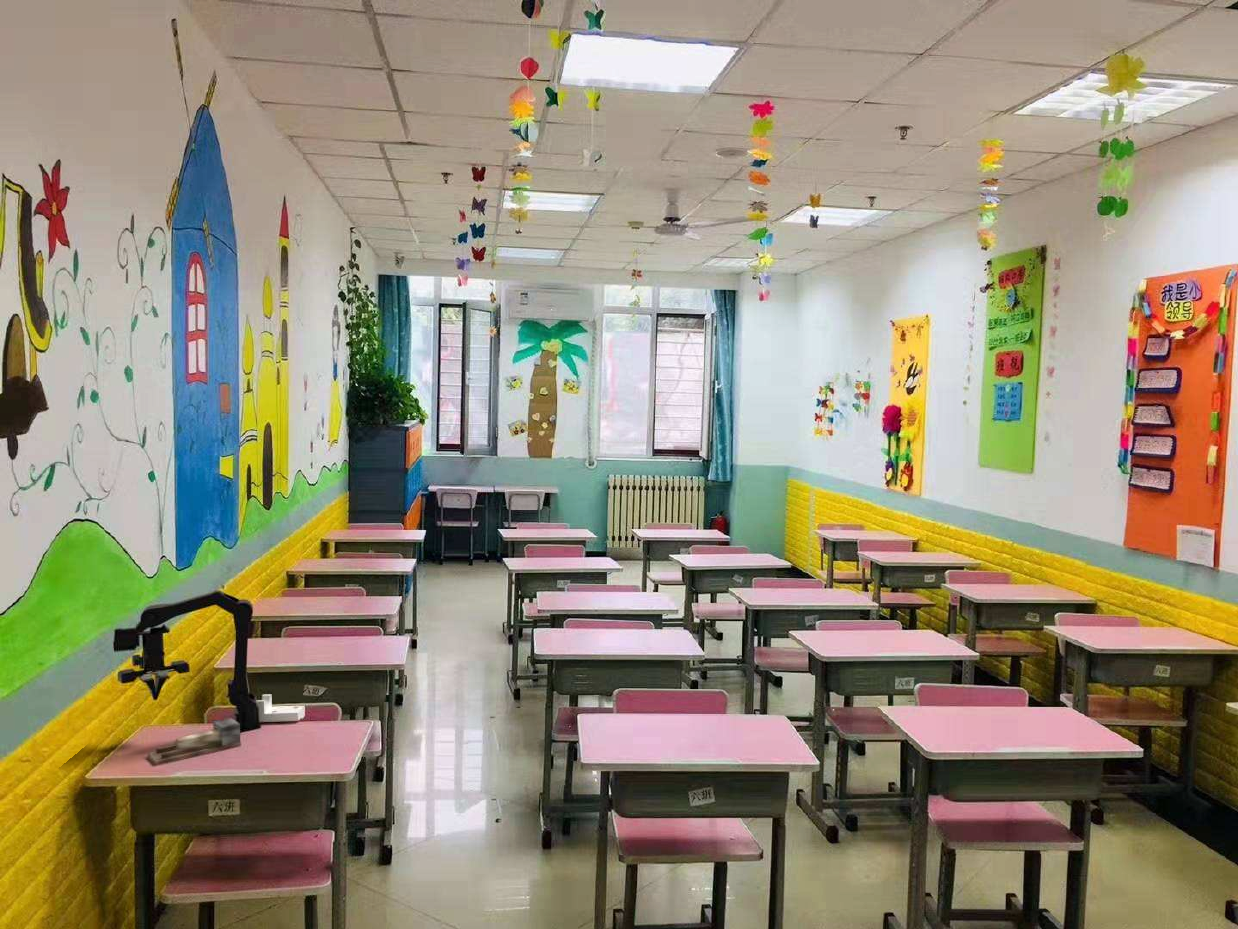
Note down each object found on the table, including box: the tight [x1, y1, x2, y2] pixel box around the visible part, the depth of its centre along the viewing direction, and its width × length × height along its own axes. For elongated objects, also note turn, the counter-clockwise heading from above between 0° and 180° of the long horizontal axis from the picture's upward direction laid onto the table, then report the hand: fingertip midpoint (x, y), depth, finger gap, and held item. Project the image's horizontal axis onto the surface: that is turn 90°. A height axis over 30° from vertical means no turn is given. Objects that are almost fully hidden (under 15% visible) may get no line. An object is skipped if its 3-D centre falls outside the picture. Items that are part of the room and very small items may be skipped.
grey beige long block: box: [175, 729, 221, 750], centre depth 271 cm, size 14×3×4 cm, turn 130°
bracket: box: [256, 694, 306, 723], centre depth 297 cm, size 13×7×8 cm, turn 93°
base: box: [147, 717, 242, 766], centre depth 269 cm, size 23×9×6 cm, turn 130°
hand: (155, 699), depth 280 cm, fingers closed
